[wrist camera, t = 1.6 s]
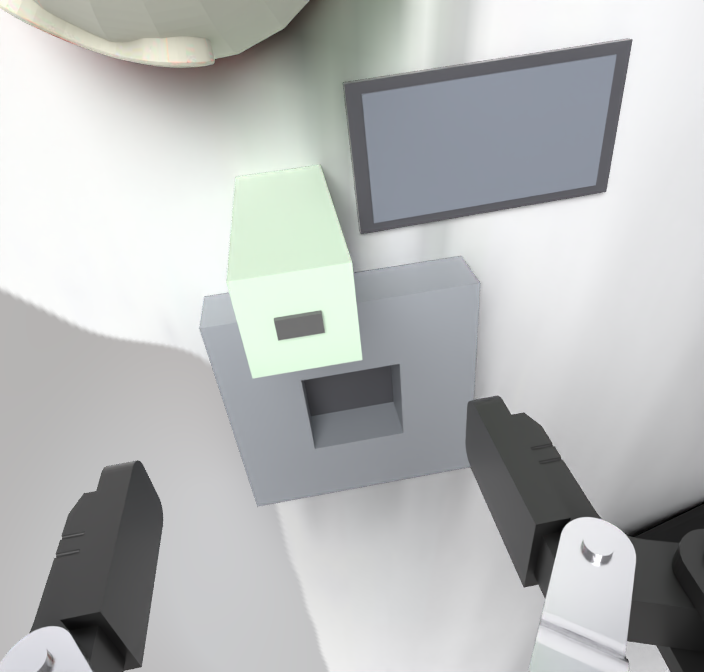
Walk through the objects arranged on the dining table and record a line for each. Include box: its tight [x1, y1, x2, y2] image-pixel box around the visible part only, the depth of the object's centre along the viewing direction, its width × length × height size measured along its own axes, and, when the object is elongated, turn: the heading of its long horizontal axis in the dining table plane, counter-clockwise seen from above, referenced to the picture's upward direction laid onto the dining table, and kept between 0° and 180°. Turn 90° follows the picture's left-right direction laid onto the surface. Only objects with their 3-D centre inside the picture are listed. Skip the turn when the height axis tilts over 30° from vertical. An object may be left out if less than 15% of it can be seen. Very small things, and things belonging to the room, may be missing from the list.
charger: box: [226, 165, 362, 378], centre depth 22 cm, size 4×4×10 cm
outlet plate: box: [199, 256, 480, 506], centre depth 31 cm, size 14×14×3 cm
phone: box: [343, 39, 632, 234], centre depth 25 cm, size 7×13×1 cm, turn 96°
